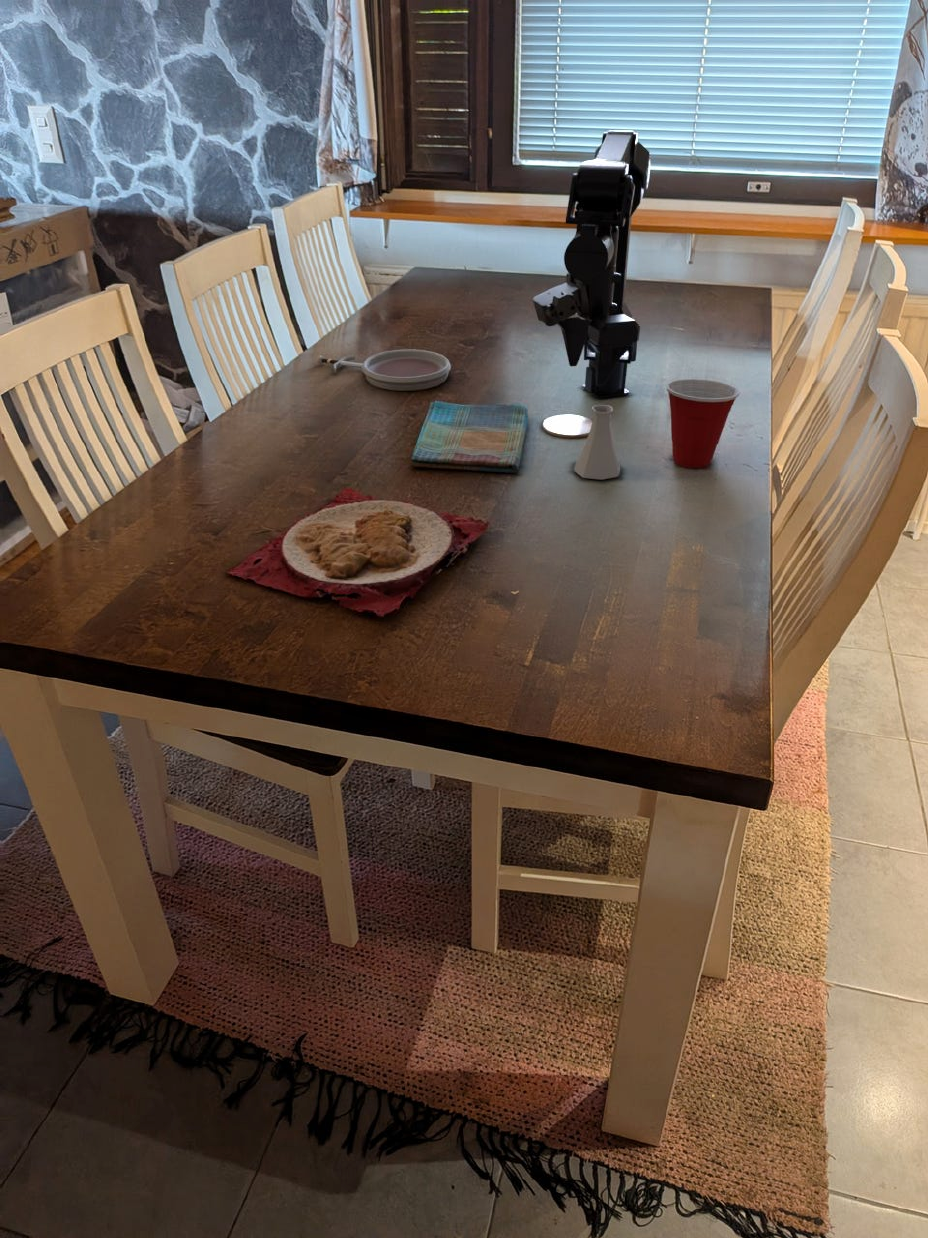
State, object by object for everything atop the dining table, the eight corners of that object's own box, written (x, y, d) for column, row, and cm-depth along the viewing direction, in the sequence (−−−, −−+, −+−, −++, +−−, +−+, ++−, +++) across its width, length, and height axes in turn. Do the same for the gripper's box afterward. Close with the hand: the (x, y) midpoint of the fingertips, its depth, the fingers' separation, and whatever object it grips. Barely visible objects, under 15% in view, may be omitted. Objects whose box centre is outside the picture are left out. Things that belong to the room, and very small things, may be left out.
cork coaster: (581, 414, 158) (582, 411, 157) (605, 433, 151) (606, 430, 150) (534, 421, 155) (534, 418, 155) (556, 441, 148) (556, 438, 148)
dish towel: (529, 416, 157) (529, 402, 155) (520, 474, 138) (520, 459, 136) (430, 412, 159) (430, 398, 157) (408, 469, 139) (407, 454, 138)
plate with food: (490, 534, 123) (491, 511, 121) (385, 624, 104) (383, 599, 102) (346, 497, 133) (345, 475, 131) (226, 573, 114) (222, 549, 112)
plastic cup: (730, 451, 145) (743, 378, 138) (723, 479, 136) (737, 402, 130) (662, 442, 148) (671, 370, 141) (651, 469, 139) (660, 393, 132)
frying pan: (336, 339, 185) (464, 352, 176) (337, 353, 186) (464, 367, 178) (293, 365, 172) (429, 381, 163) (295, 380, 173) (430, 397, 165)
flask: (569, 461, 142) (573, 400, 136) (615, 460, 142) (621, 398, 136) (578, 482, 136) (582, 418, 130) (625, 480, 136) (632, 416, 130)
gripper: (515, 255, 131) (512, 362, 140) (570, 284, 117) (563, 402, 125) (585, 249, 134) (578, 354, 143) (647, 278, 120) (634, 393, 128)
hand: (586, 375), depth 135 cm, fingers open, 9 cm apart
